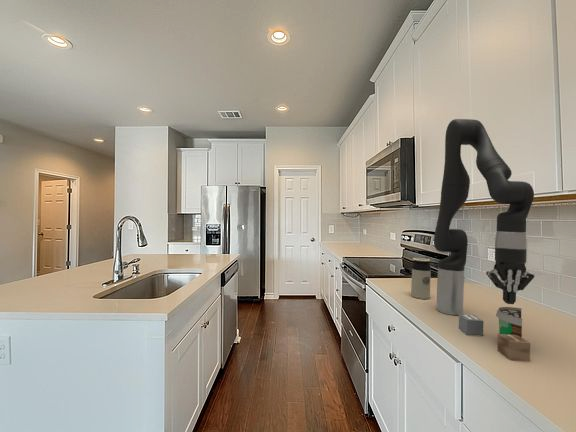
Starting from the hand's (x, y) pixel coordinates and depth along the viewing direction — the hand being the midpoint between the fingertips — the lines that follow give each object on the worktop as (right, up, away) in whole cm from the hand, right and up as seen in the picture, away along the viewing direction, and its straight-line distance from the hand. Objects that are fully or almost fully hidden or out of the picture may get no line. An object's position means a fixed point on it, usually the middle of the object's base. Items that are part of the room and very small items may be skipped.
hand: (509, 303), depth 84 cm
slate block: (-7, -12, +8) cm, 16 cm away
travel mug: (-5, -12, +47) cm, 48 cm away
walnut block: (-5, -12, -7) cm, 15 cm away
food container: (0, -13, 0) cm, 13 cm away
